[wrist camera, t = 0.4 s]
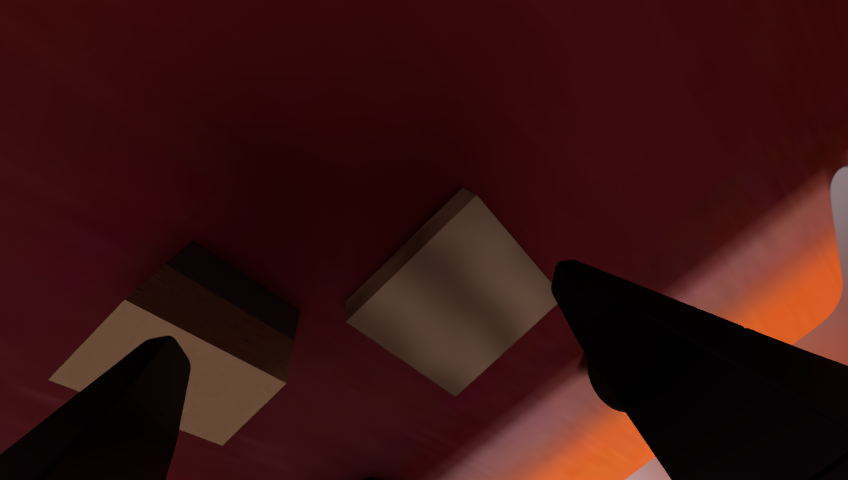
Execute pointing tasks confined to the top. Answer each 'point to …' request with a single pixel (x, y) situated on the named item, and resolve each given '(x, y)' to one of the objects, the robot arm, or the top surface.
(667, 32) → the top surface
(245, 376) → the block
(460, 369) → the walnut stand
